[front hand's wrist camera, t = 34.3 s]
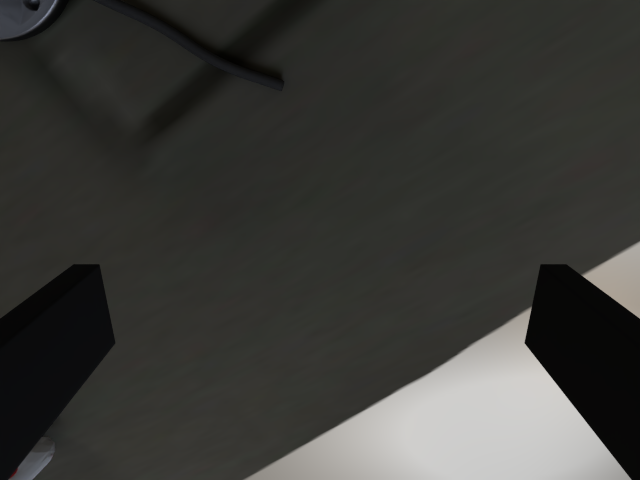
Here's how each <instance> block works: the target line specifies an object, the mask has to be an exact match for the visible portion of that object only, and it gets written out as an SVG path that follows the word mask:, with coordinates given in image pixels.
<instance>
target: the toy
mask: <svg viewBox="0 0 640 480" xmlns="http://www.w3.org/2000/svg"><path fill="white" fill-rule="evenodd" d="M54 451H55V443H54V442H53V441H52V439H51V438H49V437H41V439H40V440H39V441H38V442H37V444H36V445H35V446H34V448H33V449H32V450H31V451H30V453H29V454H28V455H27V456H26V458H25V459H24V460H23V462H22V463H21V464H20V465H19V467H18V468H17V469H16V470H15V472H14V473H13V474H12V476H11V477H10V478H9V479H8V480H32V479H33V478H34V477H35V476H36V475H37V474H38V473H39V472H40V471H41V470H42V469H43V468H44V467H45V466H46V465H47V464H48V463H49V462H50V460H51V458H52V457H53V454H54Z"/></svg>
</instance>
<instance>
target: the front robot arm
mask: <svg viewBox="0 0 640 480" xmlns="http://www.w3.org/2000/svg"><path fill="white" fill-rule="evenodd" d="M94 1H96V2H98V3H100V4H102V5H104V6H107V7H109V8H111V9H113V10H115V11H117V12H120V13H122V14H124V15H126V16H129V17H131V18H133V19H135V20H137V21H140V22H142V23H144V24H146V25H148V26H150V27H152V28H153V29H155V30H157V31H159V32H161V33H162V34H164V35H166V36H167V37H169V38H170V39H172V40H174V41H175V42H177V43H178V44H179V45H181V46H182V47H184V48H185V49H187V50H188V51H190V52H191V53H193V54H194V55H196V56H197V57H199V58H201V59H202V60H204V61H206V62H208V63H209V64H211V65H213V66H215V67H217V68H219V69H221V70H224V71H226V72H228V73H231V74H233V75H236V76H238V77H241V78H244V79H247V80H250V81H253V82H256V83H259V84H262V85H265V86H268V87H271V88H274V89H277V90H280V91H282V88H283V85H284V81H283V80H280V79H277V78H274V77H271V76H268V75H265V74H262V73H259V72H256V71H253V70H250V69H247V68H244V67H242V66H239V65H237V64H234V63H232V62H230V61H227V60H225V59H223V58H221V57H219V56H217V55H215V54H213V53H212V52H210V51H208V50H206V49H205V48H203V47H202V46H200V45H199V44H197V43H196V42H194V41H193V40H191V39H190V38H188V37H187V36H185V35H184V34H182V33H181V32H179V31H178V30H176V29H175V28H173V27H172V26H170V25H168V24H167V23H165V22H163V21H162V20H160V19H158V18H156V17H154V16H152V15H150V14H148V13H146V12H144V11H142V10H140V9H138V8H136V7H134V6H132V5H129V4H127V3H125V2H123V1H121V0H94ZM67 3H68V0H0V41H18V40H23V39H27V38H30V37H33V36H35V35H37V34H39V33H41V32H42V31H44V30H45V29H47V28H48V27H49V26H50V25H51V24H53V23H54V22H55V21H56V19H57V18H58V17H59V16H60V14H61V13H62V11H63V10H64V8H65V6H66V4H67ZM114 344H115V339H114V334H113V329H112V324H111V319H110V314H109V309H108V304H107V300H106V295H105V290H104V285H103V280H102V275H101V270H100V265H99V264H73V265H72V266H71V267H69V268H68V269H67V270H65V271H64V272H63V273H61V274H60V275H59V276H57V277H56V278H55V279H53V280H52V281H51V282H49V283H48V284H46V285H45V286H44V287H42V288H41V289H40V290H38V291H37V292H36V293H34V294H33V295H32V296H30V297H29V298H28V299H26V300H25V301H24V302H22V303H21V304H19V305H18V306H17V307H15V308H14V309H13V310H11V311H10V312H9V313H7V314H6V315H5V316H3V317H2V318H1V319H0V480H8V479H9V478H10V477H11V476H12V474H13V473H14V472H15V470H16V469H17V468H18V467H19V465H20V464H21V463H22V462H23V460H24V459H25V458H26V456H27V455H28V454H29V453H30V451H31V450H32V449H33V448H34V446H35V445H36V444H37V442H38V441H39V440H40V439H41V437H42V436H43V435H44V433H45V432H46V431H47V430H48V428H49V427H50V426H51V425H52V423H53V422H54V421H55V419H56V418H57V417H58V416H59V414H60V413H61V412H62V411H63V409H64V408H65V407H66V405H67V404H68V403H69V402H70V400H71V399H72V398H73V396H74V395H75V394H76V393H77V391H78V390H79V389H80V388H81V386H82V385H83V384H84V382H85V381H86V380H87V379H88V377H89V376H90V375H91V374H92V372H93V371H94V370H95V368H96V367H97V366H98V365H99V363H100V362H101V361H102V359H103V358H104V357H105V356H106V354H107V353H108V352H109V351H110V349H111V348H112V347H113V345H114ZM525 344H526V345H527V347H528V348H529V349H530V351H531V352H532V353H533V354H534V356H535V357H536V358H537V359H538V361H539V362H540V363H541V364H542V366H543V367H544V368H545V370H546V371H547V372H548V374H549V375H550V376H551V377H552V379H553V380H554V381H555V382H556V384H557V385H558V386H559V388H560V389H561V390H562V391H563V393H564V394H565V395H566V396H567V398H568V399H569V400H570V402H571V403H572V404H573V405H574V407H575V408H576V409H577V410H578V412H579V413H580V414H581V416H582V417H583V418H584V419H585V421H586V422H587V423H588V425H589V426H590V427H591V428H592V430H593V431H594V432H595V433H596V435H597V436H598V437H599V439H600V440H601V441H602V442H603V444H604V445H605V446H606V448H607V449H608V450H609V451H610V453H611V454H612V455H613V456H614V458H615V459H616V460H617V462H618V463H619V464H620V465H621V467H622V468H623V469H624V470H625V472H626V473H627V474H628V476H629V477H630V478H631V479H632V480H640V319H639V318H638V317H637V316H635V315H634V314H633V313H631V312H630V311H629V310H627V309H626V308H625V307H623V306H622V305H620V304H619V303H618V302H616V301H615V300H614V299H612V298H611V297H610V296H608V295H607V294H606V293H604V292H603V291H602V290H600V289H599V288H598V287H596V286H595V285H593V284H592V283H591V282H589V281H588V280H587V279H585V278H584V277H583V276H581V275H580V274H579V273H577V272H576V271H575V270H573V269H572V268H571V267H569V266H568V265H567V264H541V265H540V270H539V275H538V280H537V285H536V290H535V295H534V300H533V304H532V309H531V314H530V319H529V324H528V329H527V334H526V339H525Z"/></svg>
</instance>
